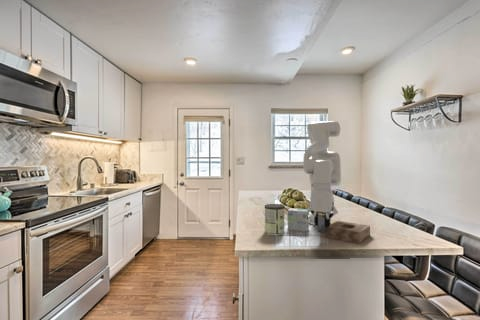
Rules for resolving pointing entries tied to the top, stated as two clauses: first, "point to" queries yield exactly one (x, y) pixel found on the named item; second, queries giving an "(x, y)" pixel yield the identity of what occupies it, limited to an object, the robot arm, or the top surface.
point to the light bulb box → (298, 219)
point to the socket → (348, 231)
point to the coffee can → (274, 219)
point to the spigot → (321, 222)
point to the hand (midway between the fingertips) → (322, 225)
